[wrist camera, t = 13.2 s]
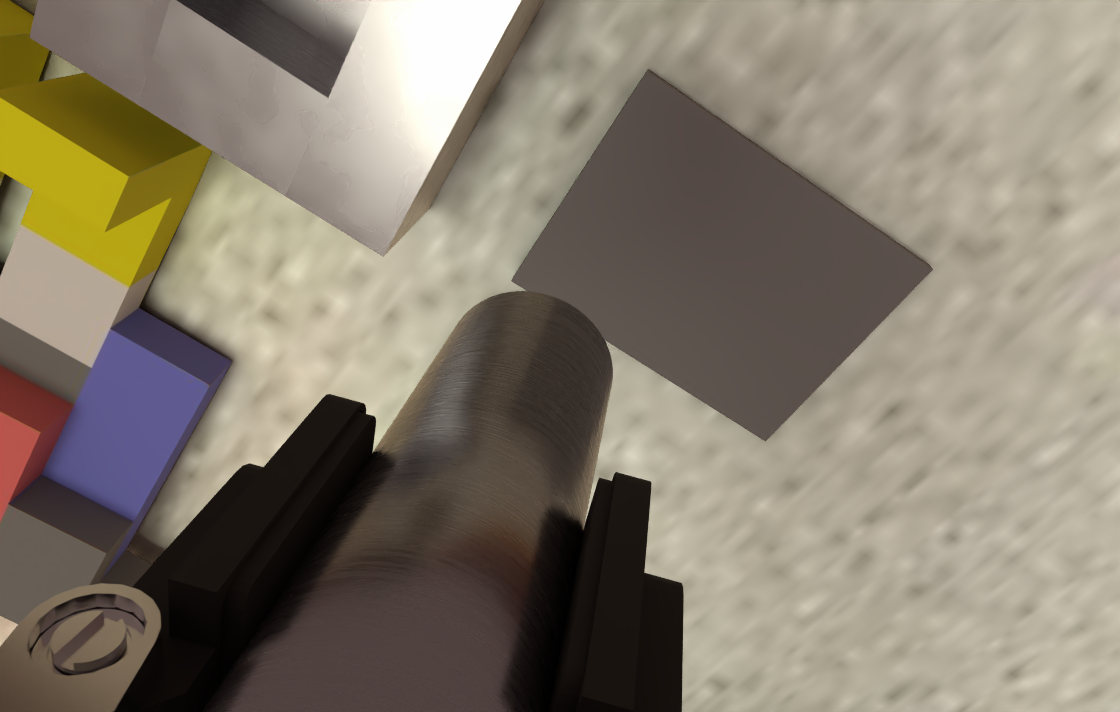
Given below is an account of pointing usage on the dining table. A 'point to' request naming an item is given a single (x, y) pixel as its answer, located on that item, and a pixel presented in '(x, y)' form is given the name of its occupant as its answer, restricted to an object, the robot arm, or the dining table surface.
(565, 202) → the mat
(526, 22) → the block
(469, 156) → the dining table surface
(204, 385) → the toy
